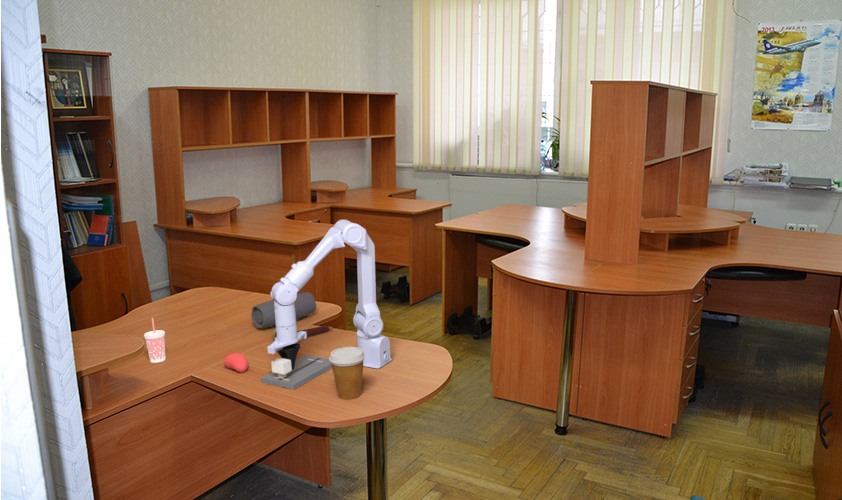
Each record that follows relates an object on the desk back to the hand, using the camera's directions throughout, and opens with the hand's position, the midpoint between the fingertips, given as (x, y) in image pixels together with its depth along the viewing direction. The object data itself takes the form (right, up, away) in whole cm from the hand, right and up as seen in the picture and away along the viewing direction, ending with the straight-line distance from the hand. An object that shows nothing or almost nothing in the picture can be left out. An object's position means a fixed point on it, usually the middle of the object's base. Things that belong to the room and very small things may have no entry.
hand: (289, 369), depth 185 cm
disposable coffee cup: (+18, -5, -12) cm, 22 cm away
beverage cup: (-46, -1, +20) cm, 50 cm away
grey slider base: (+2, -2, +4) cm, 5 cm away
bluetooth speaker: (-12, +7, +53) cm, 54 cm away
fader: (-2, -2, -3) cm, 4 cm away
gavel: (-2, +4, +37) cm, 37 cm away
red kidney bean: (-18, -2, +10) cm, 20 cm away
